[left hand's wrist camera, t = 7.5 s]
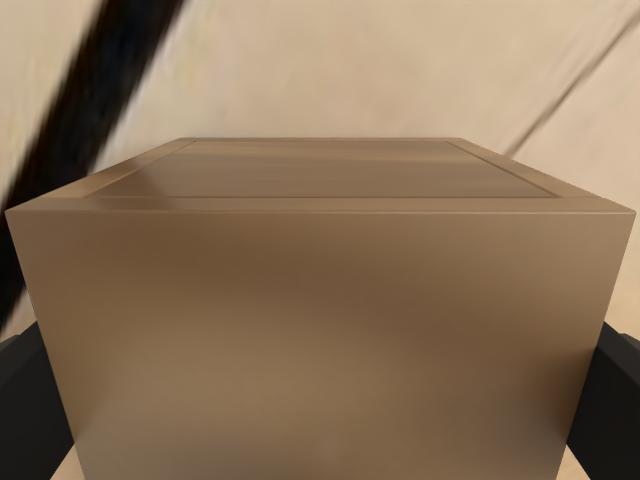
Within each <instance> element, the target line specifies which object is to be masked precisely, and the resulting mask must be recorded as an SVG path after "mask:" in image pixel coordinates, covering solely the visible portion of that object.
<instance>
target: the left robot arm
mask: <svg viewBox="0 0 640 480" xmlns="http://www.w3.org/2000/svg"><path fill="white" fill-rule="evenodd" d="M73 445H74V441H73V438H72V435H71V431H70V428H69V425H68V421H67V418H66V415H65V411H64V408H63V405H62V401H61V398H60V395H59V391H58V388H57V385H56V382H55V378H54V375H53V372H52V368H51V365H50V362H49V358H48V355H47V352H46V348H45V345H44V342H43V338H42V335H41V332H40V329H39V325H38V322H37V321H36V322H35V323H33V324H32V325H31V326H30V327H29V328H27V329H26V330H25V331H24V332H23V333H22V334H20V335H14V336H12V337H11V338H9V339H7V340H5V341H3V342H1V343H0V480H50V479H51V477H52V476H53V474H54V473H55V471H56V470H57V468H58V467H59V465H60V464H61V462H62V461H63V460H64V458H65V457H66V455H67V454H68V452H69V451H70V449H71V448H72V446H73ZM567 446H568V447H569V449H570V450H571V452H572V453H573V454H574V456H575V457H576V459H577V460H578V462H579V463H580V465H581V466H582V468H583V469H584V471H585V472H586V474H587V475H588V477H589V478H590V480H640V341H639V340H637V339H635V338H633V337H631V336H629V335H627V334H619V333H618V332H617V331H615V330H614V329H613V328H612V327H611V326H609V325H608V324H607V323H606V322H605V321H604V322H603V325H602V329H601V332H600V335H599V339H598V342H597V345H596V348H595V352H594V355H593V358H592V362H591V365H590V368H589V371H588V375H587V378H586V381H585V385H584V388H583V391H582V395H581V398H580V401H579V404H578V408H577V411H576V414H575V418H574V421H573V424H572V428H571V431H570V434H569V437H568V441H567Z"/></svg>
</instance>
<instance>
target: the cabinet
mask: <svg viewBox="0 0 640 480" xmlns="http://www.w3.org/2000/svg"><path fill="white" fill-rule="evenodd" d="M5 216H6V219H7V222H8V226H9V229H10V232H11V236H12V239H13V242H14V246H15V249H16V252H17V256H18V259H19V262H20V266H21V269H22V272H23V276H24V279H25V282H26V285H27V289H28V292H29V295H30V299H31V302H32V305H33V309H34V312H35V315H36V319H37V322H38V325H39V329H40V332H41V335H42V338H43V342H44V345H45V348H46V352H47V355H48V358H49V362H50V365H51V368H52V372H53V375H54V378H55V382H56V385H57V388H58V391H59V395H60V398H61V401H62V405H63V408H64V411H65V415H66V418H67V421H68V425H69V428H70V431H71V435H72V438H73V441H74V444H75V448H76V451H77V454H78V458H79V461H80V464H81V468H82V471H83V474H84V478H85V480H556V477H557V474H558V470H559V467H560V464H561V461H562V457H563V454H564V451H565V447H566V444H567V441H568V437H569V434H570V431H571V428H572V424H573V421H574V418H575V414H576V411H577V408H578V404H579V401H580V398H581V395H582V391H583V388H584V385H585V381H586V378H587V375H588V371H589V368H590V365H591V362H592V358H593V355H594V352H595V348H596V345H597V342H598V339H599V335H600V332H601V329H602V325H603V322H604V319H605V315H606V312H607V309H608V306H609V302H610V299H611V296H612V292H613V289H614V286H615V282H616V279H617V276H618V273H619V269H620V266H621V263H622V259H623V256H624V253H625V249H626V246H627V243H628V240H629V236H630V233H631V230H632V226H633V223H634V220H635V216H636V211H634V210H632V209H630V208H627V207H625V206H622V205H620V204H618V203H615V202H613V201H610V200H608V199H606V198H602V197H599V196H597V195H595V194H592V193H590V192H588V191H585V190H583V189H580V188H578V187H576V186H573V185H571V184H569V183H566V182H564V181H561V180H559V179H557V178H554V177H552V176H549V175H547V174H545V173H542V172H540V171H538V170H535V169H533V168H530V167H528V166H526V165H523V164H521V163H518V162H516V161H514V160H511V159H509V158H507V157H504V156H502V155H499V154H497V153H495V152H492V151H490V150H487V149H485V148H483V147H480V146H478V145H476V144H473V143H471V142H468V141H466V140H464V139H462V138H179V139H177V140H175V141H172V142H169V143H167V144H164V145H162V146H160V147H157V148H155V149H152V150H150V151H148V152H145V153H143V154H140V155H138V156H136V157H133V158H131V159H128V160H126V161H124V162H121V163H119V164H116V165H114V166H112V167H109V168H107V169H104V170H102V171H100V172H97V173H95V174H92V175H90V176H88V177H85V178H83V179H80V180H78V181H76V182H73V183H71V184H68V185H66V186H64V187H61V188H59V189H56V190H54V191H52V192H49V193H47V194H44V195H42V196H40V197H38V198H35V199H32V200H30V201H28V202H25V203H23V204H20V205H18V206H16V207H13V208H11V209H8V210H6V211H5Z"/></svg>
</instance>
